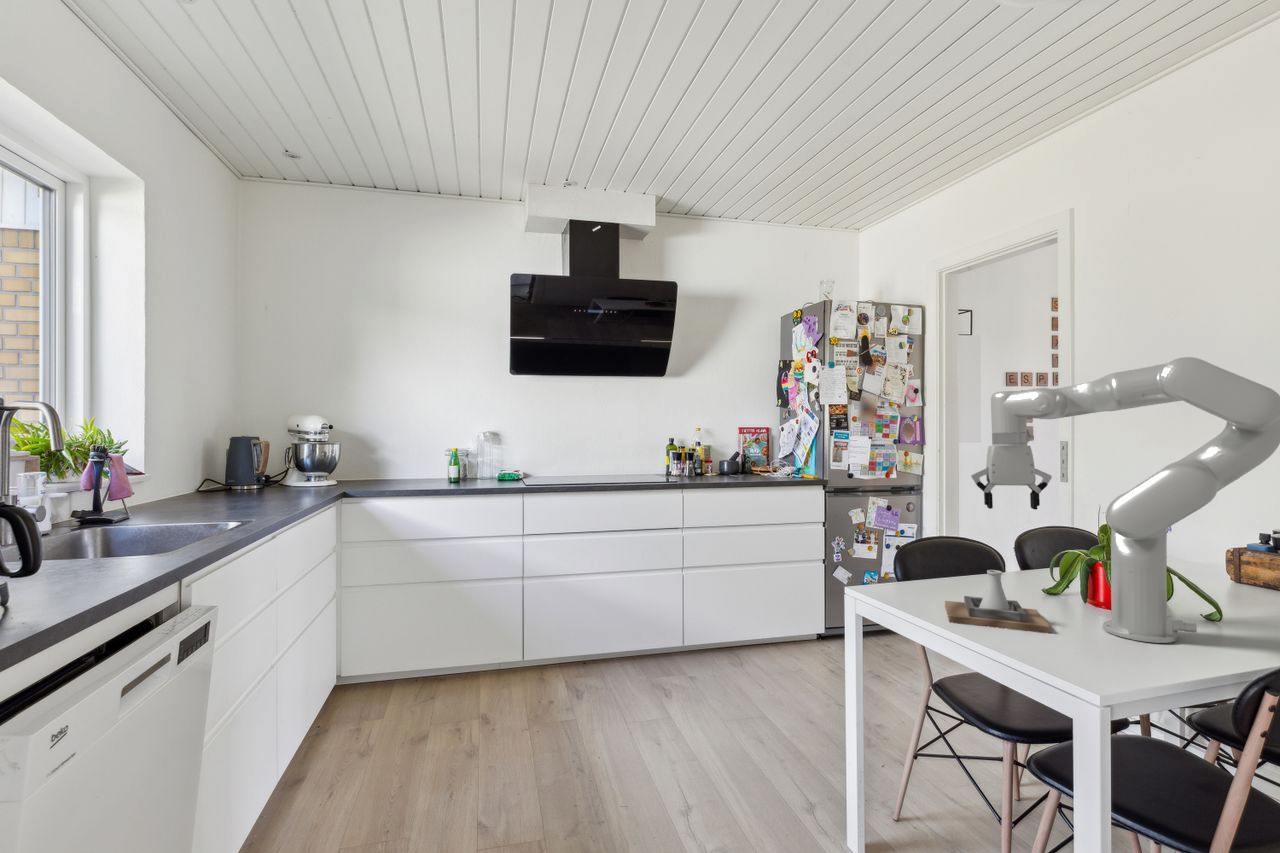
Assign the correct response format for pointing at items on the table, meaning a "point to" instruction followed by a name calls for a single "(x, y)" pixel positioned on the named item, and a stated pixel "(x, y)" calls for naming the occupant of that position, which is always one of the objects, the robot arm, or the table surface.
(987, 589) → the flask
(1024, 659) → the table surface
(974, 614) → the walnut board
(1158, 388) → the robot arm
